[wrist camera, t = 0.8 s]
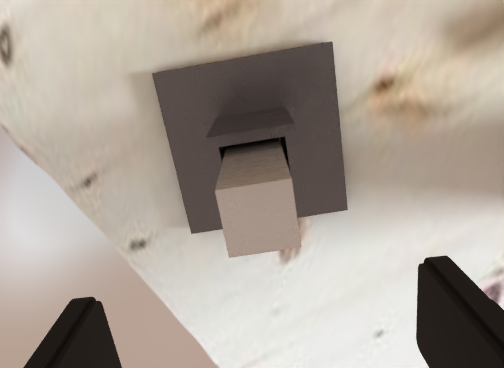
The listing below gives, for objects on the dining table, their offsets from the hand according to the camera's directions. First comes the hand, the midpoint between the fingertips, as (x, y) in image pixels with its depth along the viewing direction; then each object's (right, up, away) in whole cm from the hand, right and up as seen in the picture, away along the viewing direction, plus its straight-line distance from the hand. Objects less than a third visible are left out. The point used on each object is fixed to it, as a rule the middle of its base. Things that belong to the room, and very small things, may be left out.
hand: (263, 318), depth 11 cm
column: (0, +7, +24) cm, 25 cm away
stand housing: (0, +8, +26) cm, 27 cm away
